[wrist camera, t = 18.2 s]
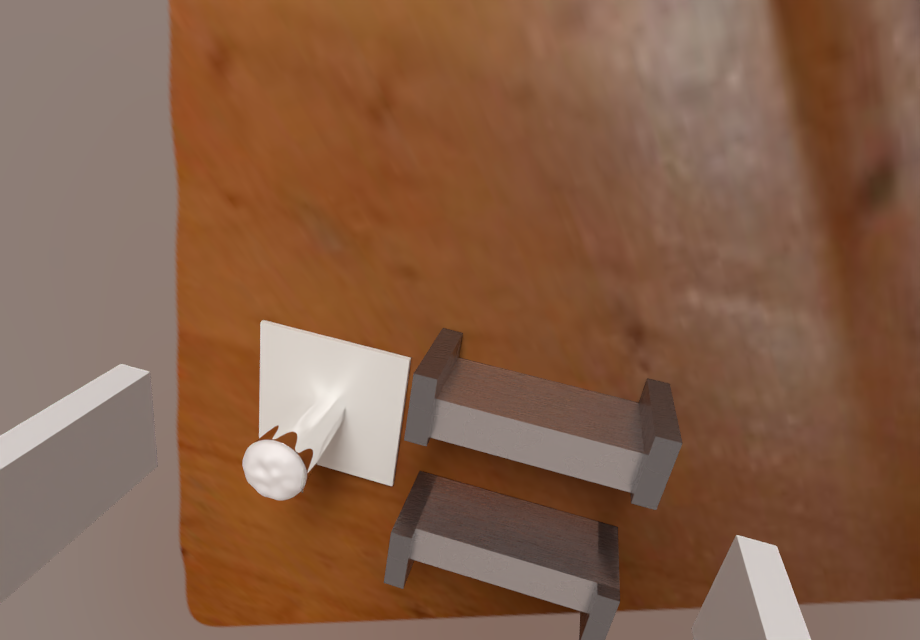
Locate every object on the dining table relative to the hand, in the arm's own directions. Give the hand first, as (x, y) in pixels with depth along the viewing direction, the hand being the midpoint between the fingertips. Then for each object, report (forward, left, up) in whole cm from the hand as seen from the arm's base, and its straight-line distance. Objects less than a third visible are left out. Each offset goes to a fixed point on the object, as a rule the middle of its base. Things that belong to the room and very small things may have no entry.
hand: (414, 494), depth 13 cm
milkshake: (+13, +18, -26) cm, 34 cm away
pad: (+13, +18, -27) cm, 35 cm away
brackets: (-3, +18, -27) cm, 32 cm away
